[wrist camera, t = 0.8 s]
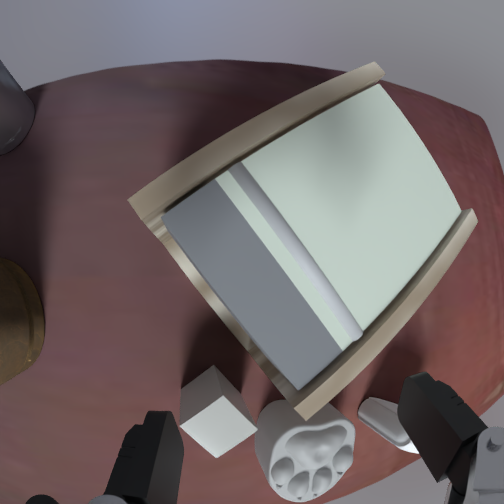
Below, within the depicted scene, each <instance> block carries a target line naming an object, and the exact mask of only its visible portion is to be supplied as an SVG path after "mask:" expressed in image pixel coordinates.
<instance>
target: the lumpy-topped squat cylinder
mask: <svg viewBox="0 0 504 504" xmlns="http://www.w3.org/2000/svg"><path fill="white" fill-rule="evenodd" d="M256 426H257V428H258V430H257V431H256V432H255V453H256V455H257V458H258V460H259V462H260V464H261V467H262V469H263V471H264V473H265V476H266V478H267V480H268V482H269V484H270V486H271V487H272V488H273V490H274V491H275V492H276V493H277V494H278V495H279V496H281V497H282V498H284V499H287V500H290V501H294V502H305V501H309V500H312V499H314V498H316V497H318V496H320V495H322V494H323V493H325V492H326V491H328V490H329V489H330V488H332V487H333V486H334V485H335V484H336V483H337V481H338V480H339V479H340V478H341V477H342V475H343V474H344V473H345V472H346V470H347V469H348V468H349V467H350V466H351V465H352V462H353V449H354V441H355V427H354V425H353V423H352V422H351V421H350V420H349V419H347V418H346V417H345V416H344V415H343V414H342V413H340V412H339V411H338V410H337V409H336V408H334V407H333V406H332V405H331V404H330V403H329V402H328V403H327V404H326V405H324V406H323V407H322V408H321V409H320V410H319V411H317V412H316V413H315V414H314V415H313V416H311V417H310V418H309V419H308V420H307V421H305V419H304V418H303V417H302V416H301V415H300V414H299V413H298V412H297V411H296V410H295V409H294V408H293V407H292V406H291V404H290V403H289V402H288V401H287V400H276V401H273V402H271V403H269V404H268V405H267V406H266V407H265V408H264V409H263V410H262V411H261V413H260V415H259V417H258V420H257V425H256Z"/></svg>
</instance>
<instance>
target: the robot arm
mask: <svg viewBox="0 0 504 504" xmlns="http://www.w3.org/2000/svg"><path fill="white" fill-rule="evenodd" d="M34 115H35V108H34V105H33V102H32V101H31V100H30V99H29V97H28V96H27V95H26V94H25V92H24V91H23V90H22V88H21V87H20V86H19V84H18V83H17V82H16V81H15V79H14V78H13V76H12V75H11V74H10V72H9V71H8V70H7V68H6V67H5V66H4V64H3V63H2V61H1V60H0V155H2V154H5V153H8V152H9V151H11V150H13V149H14V148H15V147H16V146H18V145H19V143H20V142H21V141H22V140H23V139H24V138H25V136H26V135H27V133H28V131H29V130H30V128H31V125H32V123H33V120H34ZM397 415H398V419H399V422H400V424H401V425H402V427H403V428H404V430H405V431H406V433H407V435H408V436H409V438H410V439H411V441H412V443H413V444H414V446H415V447H416V449H417V451H418V452H419V454H420V455H421V457H422V459H423V460H424V462H425V464H426V465H427V467H428V468H429V470H430V472H431V473H432V475H433V477H434V478H435V480H436V482H437V483H438V482H440V481H442V480H444V479H446V478H449V480H450V481H451V482H450V483H449V485H448V489H447V493H446V497H445V501H444V504H504V428H501V427H490V428H488V427H487V426H486V425H485V424H484V423H483V421H482V420H481V419H480V418H479V417H478V416H477V415H476V414H475V413H474V411H473V410H472V409H471V408H470V407H469V406H468V405H467V404H466V403H464V401H463V400H462V398H461V397H460V396H459V397H458V394H457V393H456V392H455V391H454V390H453V389H452V388H451V387H450V386H449V385H447V384H445V383H443V382H441V381H439V380H438V381H435V380H434V379H433V378H432V377H431V376H430V375H429V374H428V373H427V372H421V373H418V374H415V375H412V376H409V377H406V378H405V380H404V383H403V387H402V391H401V396H400V400H399V403H398V408H397ZM183 456H184V446H183V441H182V438H181V435H180V432H179V430H178V427H177V425H176V422H175V419H174V416H173V414H172V412H171V411H148V412H147V414H146V417H145V420H144V423H143V425H138V424H135V425H134V426H133V427H132V428H131V429H130V430H129V431H128V432H127V433H126V435H125V438H124V440H123V443H122V448H120V451H119V454H118V457H117V459H116V462H115V465H114V467H113V470H112V473H111V476H110V479H109V482H108V484H107V487H106V490H105V492H104V494H103V495H101V496H98V497H95V498H94V499H92V500H91V501H90V502H89V503H88V504H177V497H178V490H179V483H180V476H181V469H182V463H183ZM26 504H59V503H58V502H57V501H56V500H54V499H53V498H52V497H50V496H48V495H35V496H33V497H31V498H30V499H29V500H28V501H27V502H26Z"/></svg>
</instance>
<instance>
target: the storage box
mask: <svg viewBox="0 0 504 504" xmlns="http://www.w3.org/2000/svg"><path fill="white" fill-rule="evenodd" d="M384 75H385V73H384V71H383V70H382V69H381V68H380V67H379V66H378V65H377V64H376V62H372V63H370V64H367V65H365V66H362V67H360V68H357V69H355V70H352V71H350V72H347V73H345V74H342V75H340V76H338V77H335V78H333V79H331V80H329V81H326V82H324V83H322V84H320V85H318V86H315V87H313V88H311V89H309V90H307V91H305V92H303V93H301V94H298V95H296V96H294V97H292V98H290V99H288V100H286V101H284V102H282V103H280V104H278V105H277V106H275V107H273V108H271V109H269V110H267V111H265V112H263V113H261V114H260V115H258V116H256V117H254V118H252V119H250V120H249V121H247V122H245V123H243V124H242V125H240V126H238V127H236V128H235V129H233V130H231V131H229V132H228V133H226V134H224V135H223V136H221V137H219V138H218V139H216V140H214V141H213V142H211V143H209V144H208V145H206V146H205V147H203V148H201V149H200V150H198V151H197V152H195V153H194V154H192V155H190V156H189V157H187V158H186V159H184V160H183V161H181V162H180V163H178V164H177V165H175V166H174V167H172V168H171V169H169V170H168V171H166V172H165V173H164V174H162V175H161V176H159V177H158V178H156V179H155V180H154V181H152V182H151V183H149V184H148V185H147V186H145V187H144V188H142V189H141V190H140V191H138V192H137V193H136V194H134V195H133V196H132V197H130V198H129V199H128V201H129V203H130V204H131V206H132V207H133V208H134V210H135V211H136V213H137V214H138V216H139V217H140V219H141V220H142V221H143V222H144V223H145V225H146V226H147V227H148V228H149V229H150V230H151V231H152V232H153V233H154V235H155V236H156V237H157V238H158V239H159V240H160V241H161V242H162V243H163V244H164V246H165V247H166V248H167V250H168V251H169V252H170V254H171V255H172V257H173V258H174V259H175V261H176V262H177V263H178V265H179V266H180V267H181V269H182V270H183V271H184V273H185V274H186V275H187V277H188V278H189V279H190V280H191V282H192V283H193V284H194V286H195V287H196V288H197V290H198V291H199V292H200V293H201V295H202V296H203V297H204V298H205V300H206V301H207V302H208V304H209V305H210V306H211V307H212V309H213V310H214V311H215V312H216V314H217V315H218V316H219V317H220V319H221V320H222V321H223V322H224V323H225V325H226V326H227V327H228V328H229V330H230V331H231V332H232V333H233V334H234V336H235V337H236V338H237V339H238V340H239V342H240V343H241V344H242V345H243V346H244V348H245V349H246V350H247V351H248V352H249V354H250V355H251V356H252V357H253V359H254V360H255V361H256V363H257V364H258V365H259V366H260V368H261V369H262V370H263V371H264V373H265V374H266V375H267V376H268V378H269V379H270V380H271V381H272V383H273V384H274V385H275V386H276V387H277V389H278V390H279V391H280V392H281V394H282V395H283V396H284V397H285V398H286V400H287V401H288V402H289V403H290V404H291V406H292V407H293V408H294V409H295V410H296V411H297V412H298V413H299V414H300V415H301V416H302V417H303V418H304V419H305V421H307V420H308V419H309V418H310V417H311V416H313V415H314V414H315V413H316V412H317V411H319V410H320V409H321V408H322V407H323V406H324V405H326V404H327V403H328V402H329V401H330V400H331V399H332V398H333V397H335V396H336V395H337V394H338V393H339V392H340V391H341V390H342V389H343V388H344V387H345V386H347V385H348V384H349V383H350V382H351V381H352V380H353V379H354V378H355V377H356V376H357V375H358V374H359V373H360V372H361V371H362V370H363V369H364V368H365V367H366V366H367V365H368V364H369V363H370V362H371V361H372V360H373V359H374V358H375V357H376V356H377V355H378V354H379V353H380V352H381V350H382V349H383V348H384V347H385V346H386V345H387V344H388V343H389V342H390V341H391V340H392V338H393V337H394V336H395V335H396V334H397V333H398V332H399V331H400V329H401V328H402V327H403V326H404V325H405V324H406V322H407V321H408V320H409V319H410V318H411V316H412V315H413V314H414V313H415V312H416V310H417V309H418V308H419V307H420V305H421V304H422V303H423V302H424V300H425V299H426V298H427V296H428V295H429V294H430V292H431V291H432V290H433V289H434V287H435V286H436V284H437V283H438V282H439V280H440V279H441V278H442V276H443V275H444V273H445V272H446V271H447V269H448V268H449V266H450V265H451V263H452V262H453V261H454V259H455V258H456V256H457V255H458V253H459V252H460V250H461V248H462V247H463V245H464V244H465V242H466V241H467V239H468V237H469V236H470V234H471V233H472V231H473V229H474V228H475V226H476V224H477V222H478V220H477V218H476V216H475V214H474V211H473V209H467V210H463V211H462V212H461V213H460V215H459V216H458V218H457V219H456V221H455V222H454V223H453V225H452V226H451V228H450V229H449V230H448V232H447V233H446V235H445V236H444V237H443V239H442V240H441V241H440V243H439V244H438V245H437V247H436V248H435V249H434V251H433V252H432V253H431V255H430V256H429V257H428V258H427V260H426V261H425V262H424V263H423V265H422V266H421V267H420V268H419V270H418V271H417V272H416V273H415V275H414V276H413V277H412V278H411V279H410V281H409V282H408V283H407V284H406V285H405V286H404V288H403V289H402V290H401V291H400V292H399V293H398V294H397V296H396V297H395V298H394V299H393V300H392V301H391V302H390V303H389V305H388V306H387V307H386V308H385V309H384V310H383V311H382V312H381V313H380V314H379V315H378V316H377V318H376V319H375V320H374V321H373V322H372V323H371V324H370V325H369V326H368V327H367V328H366V329H365V330H364V331H363V334H362V336H361V337H360V338H359V339H358V340H356V341H353V342H352V343H351V344H350V345H349V346H348V347H347V348H346V349H345V350H344V351H343V352H342V353H341V354H340V355H338V356H337V357H336V358H335V359H334V360H333V361H332V362H331V363H330V364H329V365H328V366H327V367H325V368H324V369H323V370H322V371H321V372H320V373H319V374H318V375H317V376H315V377H314V378H313V379H312V380H311V381H310V382H308V383H307V384H306V385H305V386H304V387H303V388H301V389H300V390H299V391H298V390H297V389H296V388H295V387H294V386H293V385H292V384H291V383H290V382H289V381H288V380H287V379H286V378H285V377H284V376H283V375H282V374H281V373H280V372H279V371H278V369H277V368H276V367H275V366H274V365H273V364H272V363H271V362H270V361H269V359H268V358H267V357H266V356H265V355H264V354H263V352H262V351H261V350H260V349H259V348H258V346H257V345H256V344H255V343H254V342H253V340H252V339H251V338H250V337H249V336H248V334H247V333H246V332H245V331H244V330H243V328H242V327H241V326H240V325H239V323H238V322H237V321H236V320H235V318H234V317H233V316H232V315H231V313H230V312H229V311H228V310H227V308H226V307H225V306H224V305H223V303H222V302H221V301H220V300H219V298H218V297H217V296H216V295H215V293H214V292H213V291H212V289H211V288H210V287H209V286H208V284H207V283H206V282H205V280H204V279H203V278H202V276H201V275H200V274H199V273H198V271H197V270H196V269H195V267H194V266H193V265H192V263H191V262H190V261H189V259H188V258H187V257H186V255H185V254H184V253H183V251H182V250H181V249H180V247H179V246H178V245H177V243H176V242H175V240H174V239H173V238H172V236H171V235H170V234H169V232H168V231H167V229H166V227H165V225H164V223H163V221H162V219H161V217H162V216H163V215H164V214H166V213H167V212H168V211H170V210H171V209H172V208H174V207H175V206H177V205H178V204H179V203H181V202H182V201H183V200H185V199H186V198H188V197H189V196H191V195H192V194H193V193H195V192H196V191H198V190H199V189H201V188H202V187H203V186H205V185H206V184H208V183H209V182H211V181H212V180H214V179H215V178H217V177H218V176H220V175H221V174H223V173H224V172H226V171H227V170H228V169H229V168H231V167H232V166H233V165H235V164H236V163H238V162H241V161H242V160H244V159H246V158H247V157H249V156H250V155H252V154H253V153H255V152H257V151H258V150H260V149H261V148H263V147H265V146H266V145H268V144H270V143H271V142H273V141H275V140H276V139H278V138H280V137H281V136H283V135H285V134H286V133H288V132H290V131H291V130H293V129H295V128H296V127H298V126H300V125H302V124H303V123H305V122H307V121H309V120H310V119H312V118H314V117H316V116H318V115H319V114H321V113H323V112H325V111H327V110H328V109H330V108H332V107H334V106H336V105H338V104H340V103H341V102H343V101H345V100H347V99H349V98H351V97H353V96H355V95H357V94H359V93H361V92H363V91H365V90H367V89H369V88H371V87H372V86H373V85H374V84H375V83H376V82H377V81H378V80H380V79H381V78H382V77H383V76H384Z"/></svg>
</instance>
